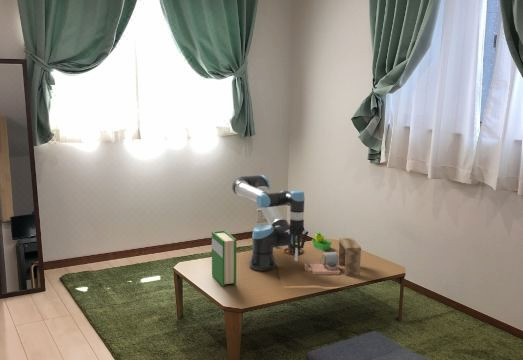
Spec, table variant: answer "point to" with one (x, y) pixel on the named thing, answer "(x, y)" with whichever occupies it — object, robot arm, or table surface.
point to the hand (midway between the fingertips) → (296, 260)
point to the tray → (320, 269)
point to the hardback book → (224, 257)
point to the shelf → (349, 256)
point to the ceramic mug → (329, 260)
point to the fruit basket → (321, 242)
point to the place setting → (291, 250)
